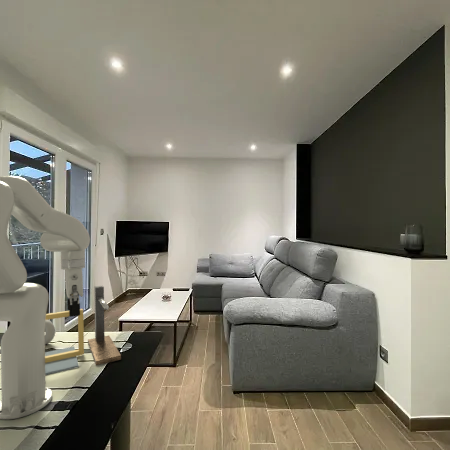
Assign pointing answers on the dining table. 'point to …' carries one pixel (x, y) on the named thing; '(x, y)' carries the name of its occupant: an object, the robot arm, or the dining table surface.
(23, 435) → the dining table surface
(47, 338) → the donut
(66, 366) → the mat
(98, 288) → the stand
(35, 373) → the robot arm
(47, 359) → the frame
